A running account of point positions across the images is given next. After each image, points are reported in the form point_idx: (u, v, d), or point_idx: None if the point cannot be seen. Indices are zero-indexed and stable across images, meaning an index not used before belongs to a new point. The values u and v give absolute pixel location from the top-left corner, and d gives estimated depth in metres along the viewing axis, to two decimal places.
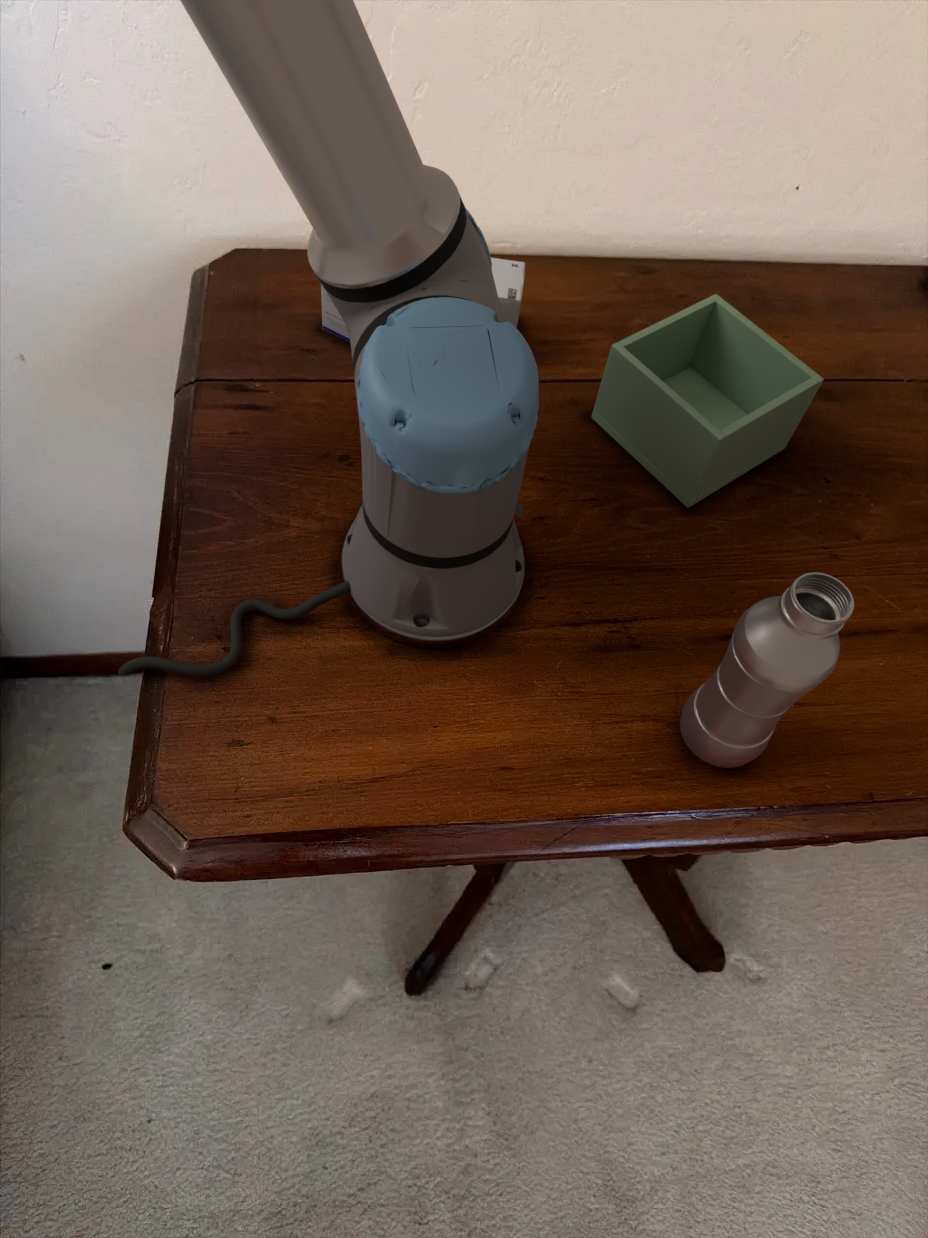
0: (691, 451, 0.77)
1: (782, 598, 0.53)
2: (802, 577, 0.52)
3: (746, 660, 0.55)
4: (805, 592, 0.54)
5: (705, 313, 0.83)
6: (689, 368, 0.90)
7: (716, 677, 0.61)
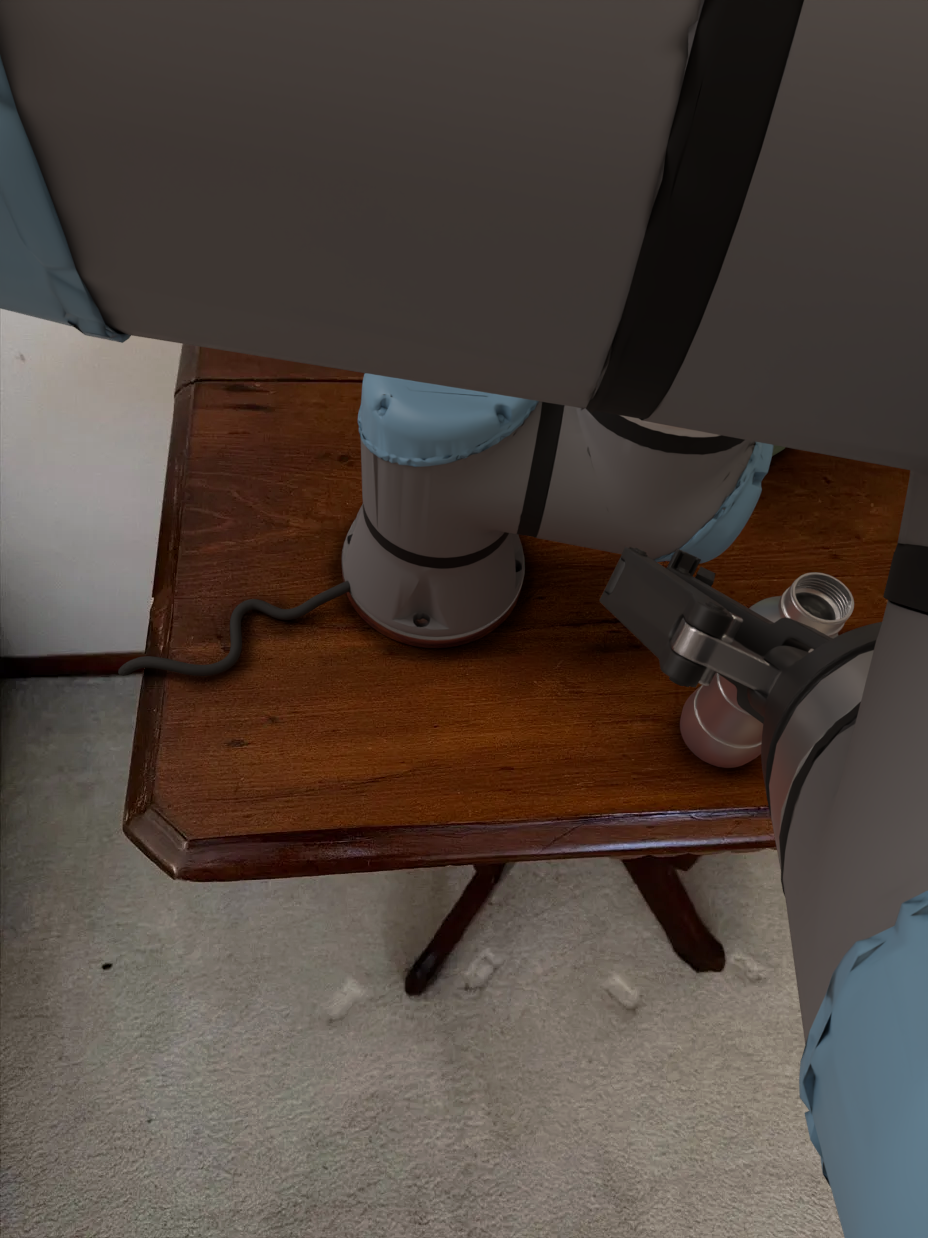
0: None
1: (782, 598, 0.53)
2: (802, 577, 0.52)
3: None
4: (805, 592, 0.54)
5: None
6: None
7: (716, 677, 0.61)
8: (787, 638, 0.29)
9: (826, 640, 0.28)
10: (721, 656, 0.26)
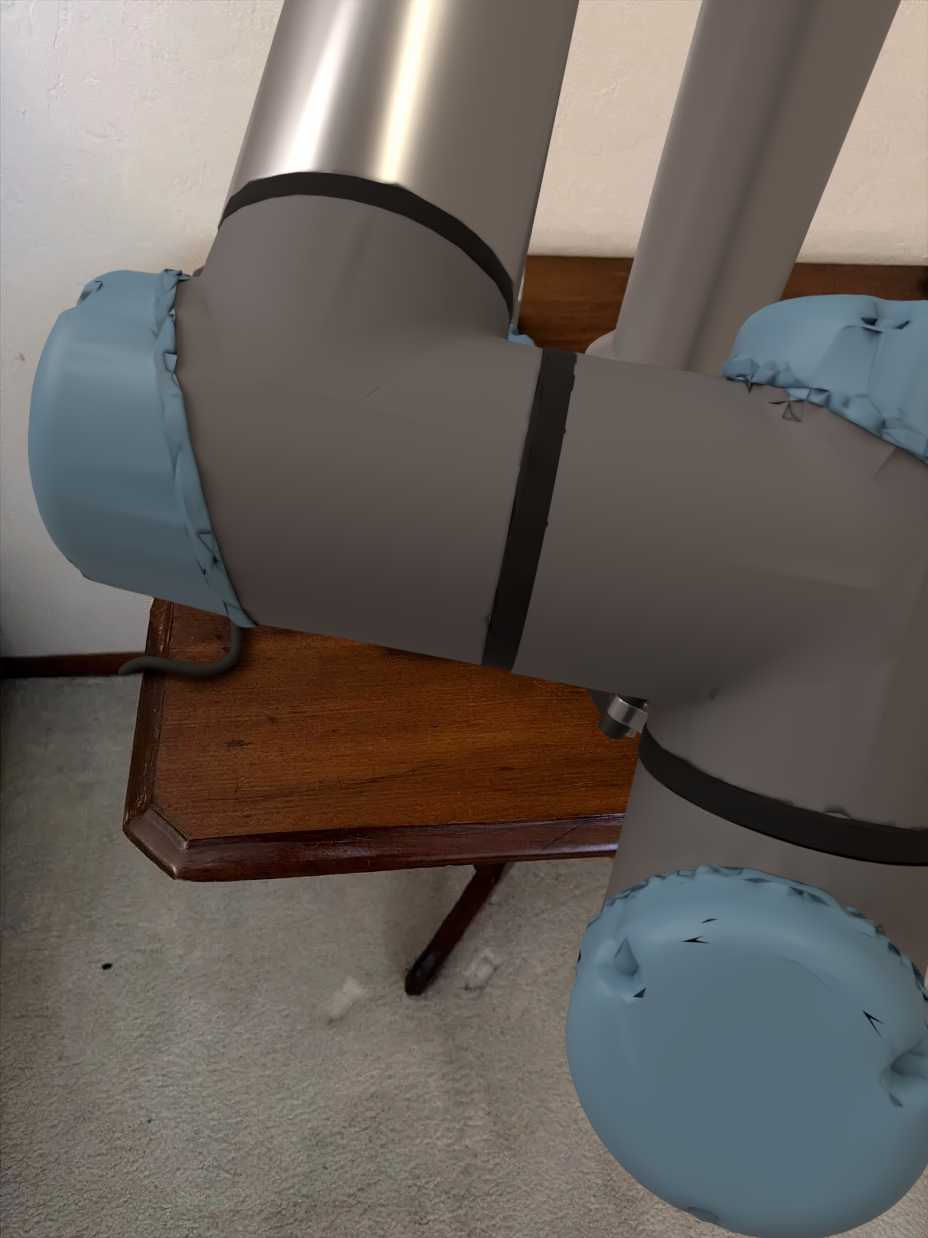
0: None
1: None
2: None
3: None
4: None
5: None
6: None
7: None
8: None
9: None
10: (639, 720, 0.37)
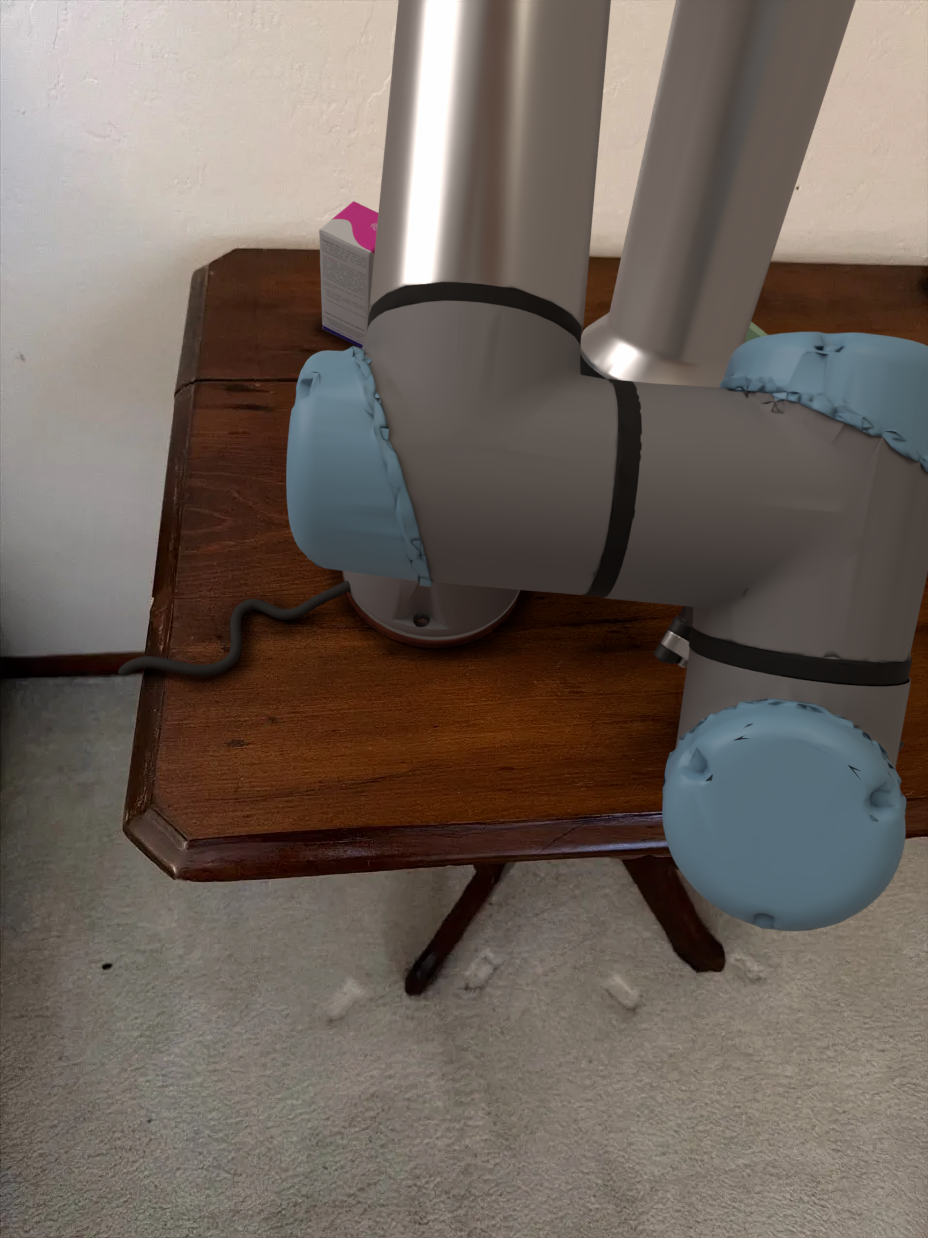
0: None
1: None
2: None
3: None
4: None
5: None
6: None
7: None
8: None
9: None
10: (682, 647, 0.48)
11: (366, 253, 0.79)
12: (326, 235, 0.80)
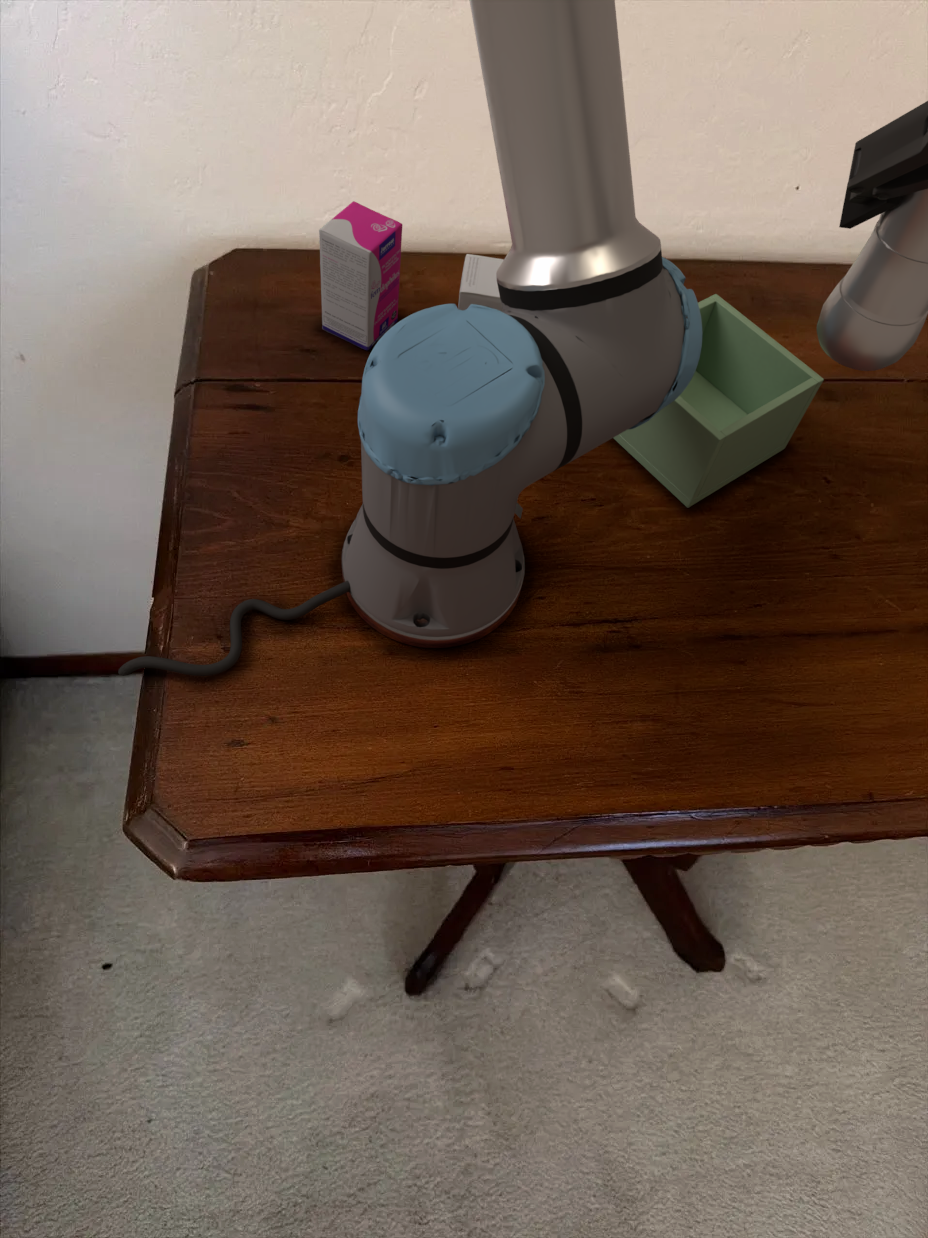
0: (691, 451, 0.77)
1: None
2: None
3: None
4: None
5: (705, 313, 0.83)
6: None
7: (881, 244, 0.54)
8: None
9: None
10: None
11: (366, 253, 0.79)
12: (326, 235, 0.80)
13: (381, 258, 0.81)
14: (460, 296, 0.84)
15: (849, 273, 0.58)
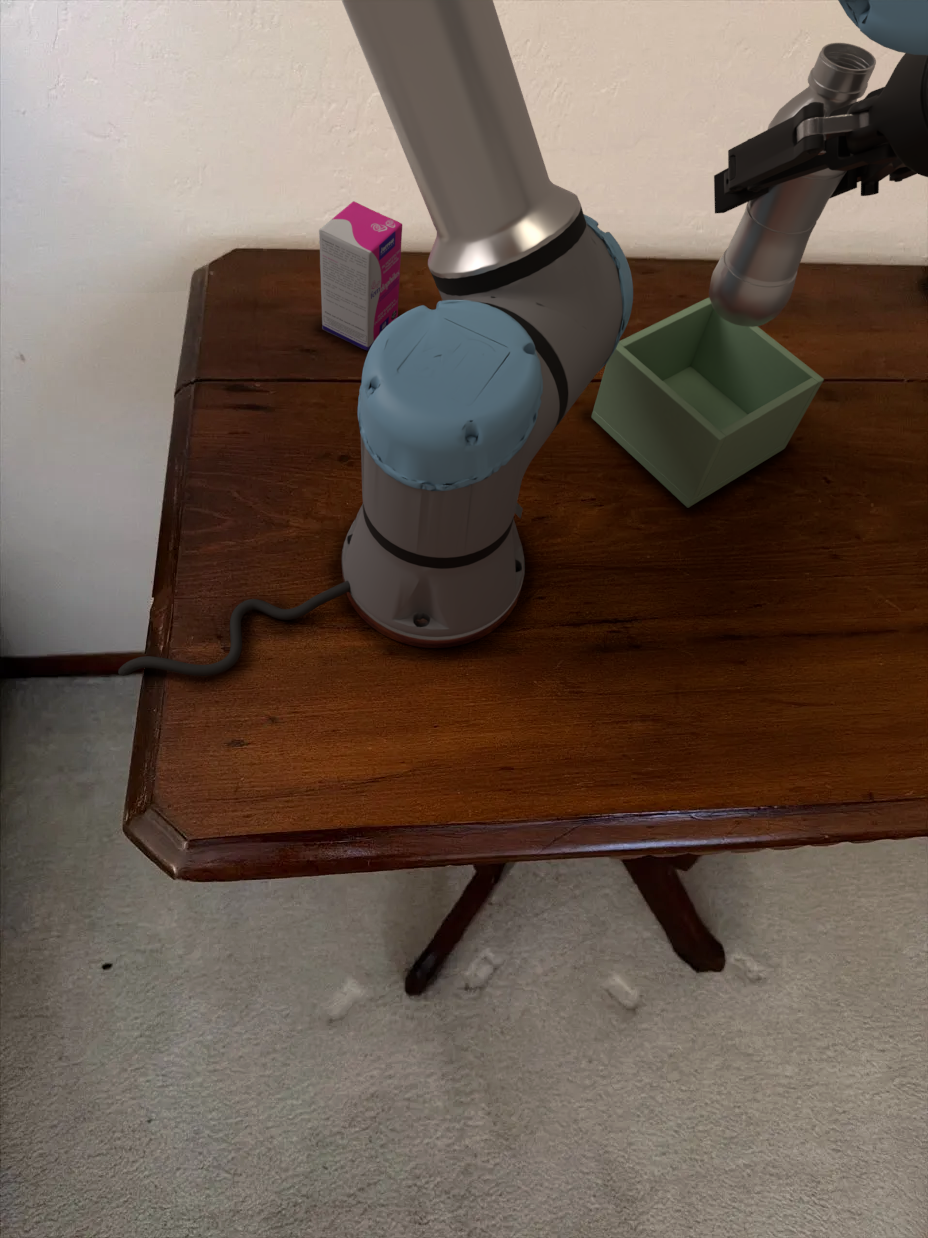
0: (691, 451, 0.77)
1: (816, 81, 0.57)
2: (822, 52, 0.57)
3: None
4: None
5: (705, 313, 0.83)
6: (689, 368, 0.90)
7: (756, 224, 0.65)
8: None
9: None
10: (828, 124, 0.51)
11: (366, 253, 0.79)
12: (326, 235, 0.80)
13: (381, 258, 0.81)
14: None
15: (731, 249, 0.69)
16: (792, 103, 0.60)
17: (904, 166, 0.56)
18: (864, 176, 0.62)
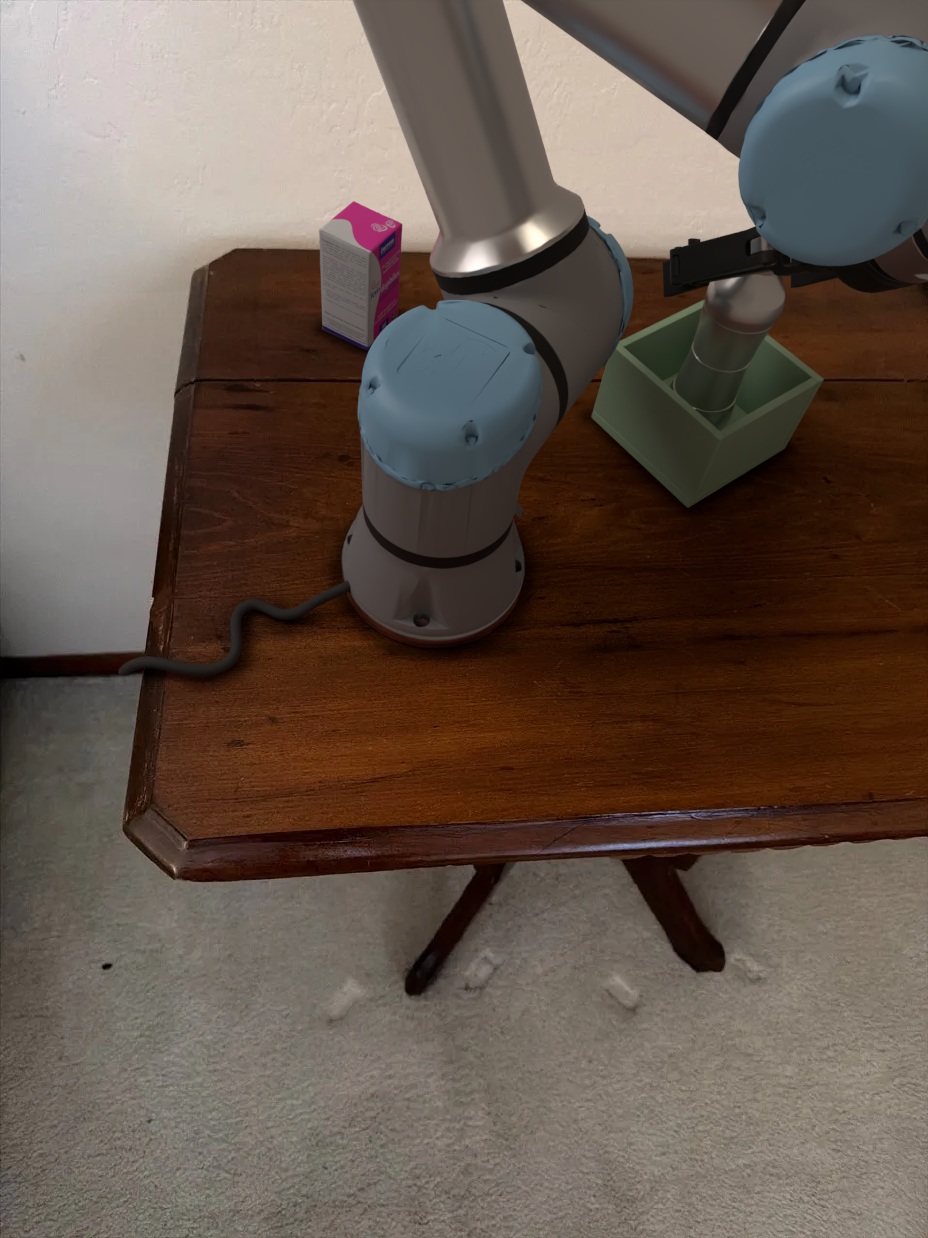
0: (691, 451, 0.77)
1: None
2: None
3: (739, 321, 0.71)
4: None
5: None
6: None
7: (699, 362, 0.77)
8: None
9: None
10: None
11: (366, 253, 0.79)
12: (326, 235, 0.80)
13: (381, 258, 0.81)
14: None
15: (679, 379, 0.80)
16: None
17: None
18: None
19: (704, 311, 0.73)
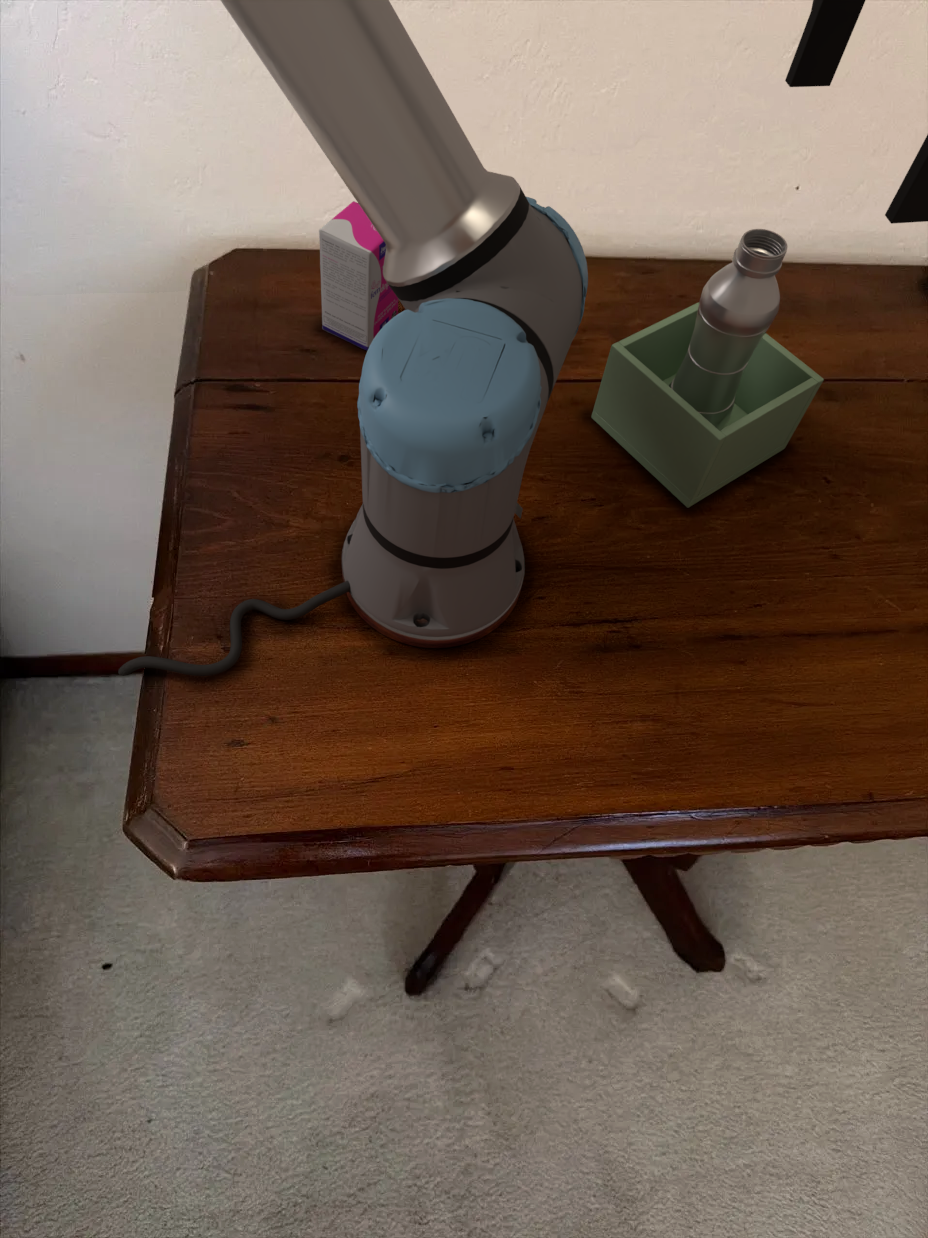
0: (691, 451, 0.77)
1: (738, 262, 0.69)
2: (743, 239, 0.68)
3: (733, 324, 0.71)
4: None
5: None
6: None
7: (695, 365, 0.77)
8: None
9: None
10: None
11: (366, 253, 0.79)
12: (326, 235, 0.80)
13: (381, 258, 0.81)
14: None
15: (676, 381, 0.80)
16: (720, 275, 0.71)
17: None
18: None
19: (699, 314, 0.73)
